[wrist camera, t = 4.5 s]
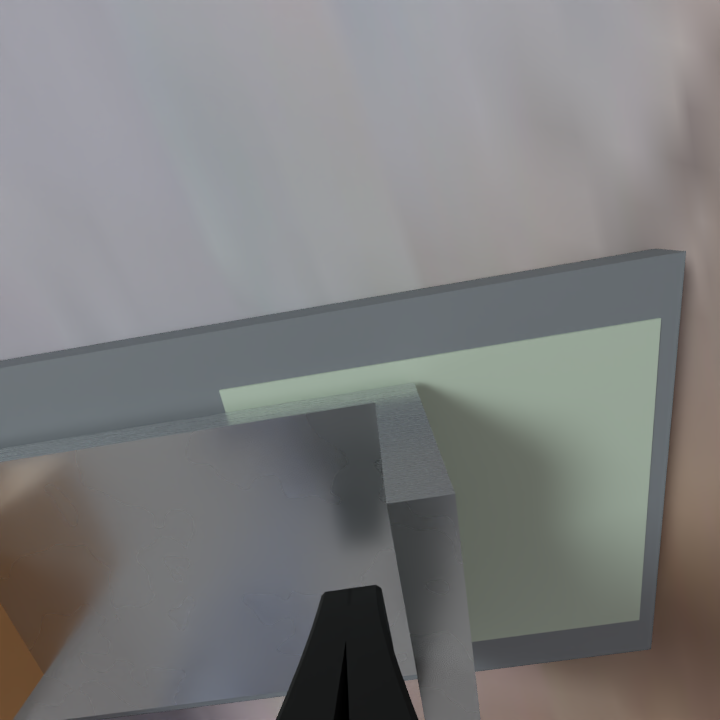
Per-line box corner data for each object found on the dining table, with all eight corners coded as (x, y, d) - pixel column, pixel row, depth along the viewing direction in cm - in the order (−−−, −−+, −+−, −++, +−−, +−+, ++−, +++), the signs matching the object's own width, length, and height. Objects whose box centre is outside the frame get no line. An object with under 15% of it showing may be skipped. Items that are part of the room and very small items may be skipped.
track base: (631, 620, 14) (653, 652, 13) (-337, 747, 16) (-386, 784, 15) (655, 248, 10) (690, 251, 9) (-653, 472, 12) (-749, 496, 11)
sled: (449, 642, 13) (493, 840, 9) (-112, 716, 14) (-312, 928, 9) (414, 382, 10) (455, 494, 6) (-294, 495, 11) (-693, 663, 7)
